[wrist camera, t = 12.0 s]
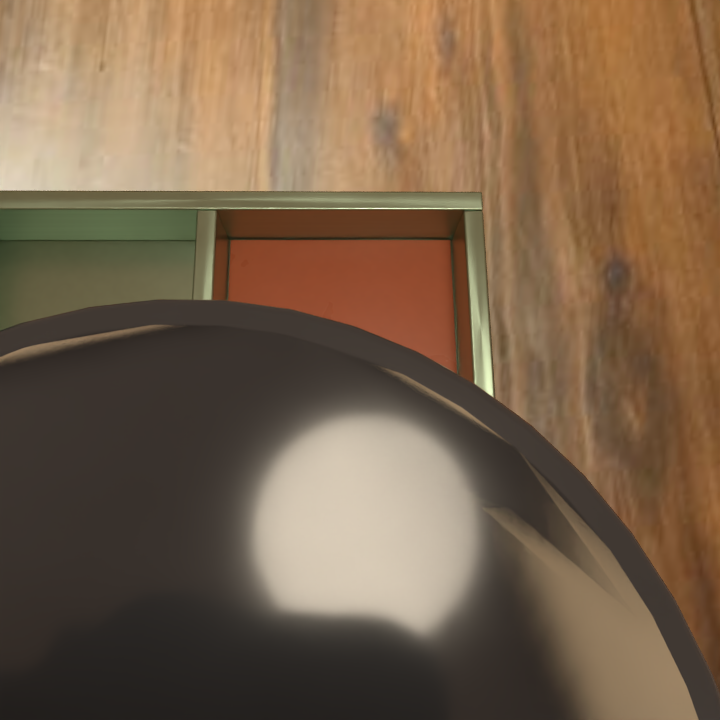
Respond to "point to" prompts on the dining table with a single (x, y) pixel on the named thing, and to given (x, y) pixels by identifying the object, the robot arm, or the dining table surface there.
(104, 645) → the jar
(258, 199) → the tray
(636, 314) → the dining table surface
